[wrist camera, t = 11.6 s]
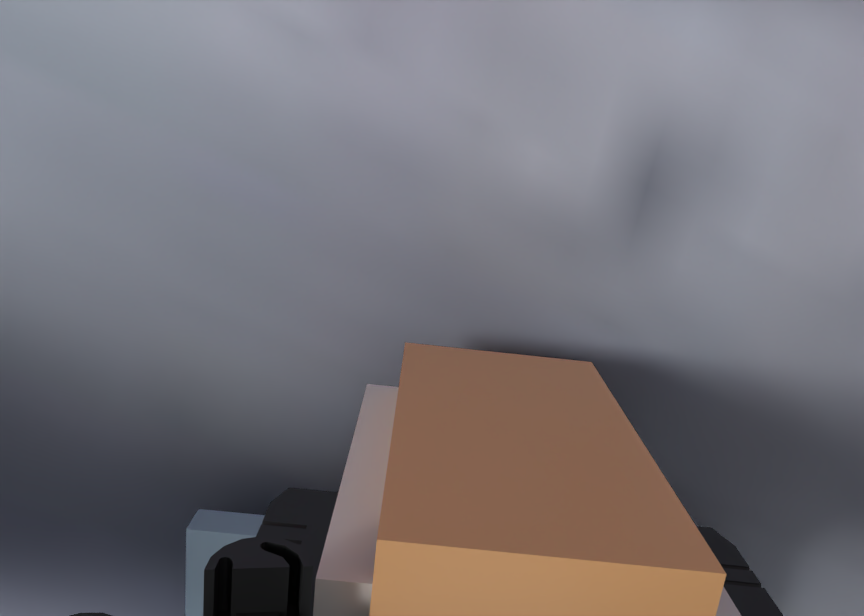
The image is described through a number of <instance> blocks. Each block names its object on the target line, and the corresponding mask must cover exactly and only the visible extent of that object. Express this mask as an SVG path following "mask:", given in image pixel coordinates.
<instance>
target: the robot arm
mask: <svg viewBox="0 0 864 616" xmlns="http://www.w3.org/2000/svg"><path fill="white" fill-rule="evenodd" d="M398 389H399V387H394V386H384V385H375V384H367V386H366V390H365V394H364V398H363V401H362V405H361V409H360V413H359V416H358V420H357V424H356V428H355V432H354V435H353V439H352V443H351V447H350V451H349V454H348V458H347V462H346V466H345V469H344V473H343V477H342V481H341V485H340V488H339V492H338V493H337V492H327V491H317V490H307V489H297V488H288V489H287V490H286V491H284V492H283V493H282V494H281V495H279V496H278V497H277V498H276V499H274V500H273V501H272V502H271V503H270V505H269V507H268V510H267V512H266V514H265V517H264V519H263V522H262V525H261V526H260V528H259V530H258V533H257V535H256V537H252V538H245V539H240V540H238V541H235V542H233V543H230V544H228V545H225V546H223V547H222V548H221V549H220V550H218V551H217V552H216V553H215V554H213V555H212V556H211V557H210V559H209V561H208V563H207V565H206V567H205V569H204V599H203V616H369V613H370V603H371V593H372V583H373V573H374V563H375V553H376V543H377V535H378V528H379V521H380V514H381V507H382V500H383V493H384V486H385V479H386V472H387V465H388V458H389V451H390V444H391V437H392V430H393V423H394V416H395V409H396V402H397V396H398ZM697 528H698V530H699V531H700V533H701V535H702V536H703V538H704V539H705V541H706V542H707V544H708V546H709V547H710V549H711V550H712V552H713V553H714V555H715V557H716V558H717V560H718V561H719V563H720V564H721V566H722V568H723V569H724V571H725V572H726V578H725V582H724V586H723V590H722V593H721V597H720V601H719V605H718V609H717V613H716V616H783V614H782V613H781V612H780V610H779V609H778V607H777V606H776V604H775V603H774V602H773V600H772V599H771V597H770V596H769V594H768V593H767V592H766V590H765V589H764V588H761V583H760V581H759V580H758V579H757V577H756V576H755V574H754V573H753V571H750V570H749V566H748V564H747V563H746V561H745V560H744V558H743V557H742V556H741V554H740V553H739V551H738V550H737V548H736V547H735V546H734V545H733V544H731V543H730V542H729V541H728V540H726V539H725V538H724V537H722V536H721V535H720V534H719V533H717V532H716V531H715V530H714V529H712V528H706V527H697ZM71 616H112V615H108V614H105V613H78V614H74V615H71Z"/></svg>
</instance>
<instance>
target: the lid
mask: <svg viewBox="0 0 864 616" xmlns="http://www.w3.org/2000/svg"><path fill="white" fill-rule="evenodd" d="M264 517H265V515H256V514H246V513H236V512H226V511H216V510H206V509H198V511H197V512H196V514H195V516H194V517H193V519H192V521H191V522H190V524H189V525H188V527H187V529H186V587H185V616H203V599H204V569H205V567H206V565H207V563H208V561H209V559H210V557H211V556H212V555H213V554H215V553H216V552H217V551H218V550H220V549H221V548H222V547H223V546H225V545H228V544H230V543H233V542H235V541H238V540H240V539H245V538H252V537H256V535H257V533H258V530H259V528H260V526H261V525H262V522H263V519H264ZM725 578H726V572H725V571H724V569H723V568H722V566H721V564H720V563H719V561H718V560H717V558H716V557H715V555H714V553H713V552H712V550H711V549H710V547H709V546H708V544H707V542H706V541H705V539H704V538H703V536H702V535H701V533H700V531H699V530H698V528H697V527H696V525H695V524H694V522H693V520H692V519H691V517H690V516H689V514H688V513H687V511H686V509H685V508H684V506H683V505H682V503H681V502H680V500H679V498H678V497H677V495H676V494H675V492H674V491H673V489H672V487H671V486H670V484H669V483H668V481H667V480H666V478H665V476H664V475H663V473H662V472H661V470H660V469H659V467H658V465H657V464H656V462H655V461H654V459H653V458H652V456H651V454H650V453H649V451H648V450H647V448H646V447H645V445H644V443H643V442H642V440H641V439H640V437H639V436H638V434H637V432H636V431H635V429H634V428H633V426H632V425H631V423H630V421H629V420H628V418H627V417H626V415H625V414H624V412H623V410H622V409H621V407H620V406H619V404H618V403H617V401H616V399H615V398H614V396H613V395H612V393H611V392H610V390H609V388H608V387H607V385H606V384H605V382H604V381H603V379H602V377H601V376H600V374H599V373H598V371H597V370H596V368H595V366H594V365H593V363H592V362H586V361H577V360H567V359H558V358H548V357H539V356H529V355H520V354H510V353H501V352H491V351H482V350H472V349H463V348H453V347H443V346H434V345H424V344H415V343H405V347H404V354H403V361H402V368H401V375H400V382H399V389H398V396H397V402H396V409H395V416H394V423H393V430H392V437H391V444H390V451H389V458H388V465H387V472H386V479H385V486H384V493H383V500H382V507H381V514H380V521H379V528H378V535H377V543H376V553H375V563H374V573H373V583H372V593H371V603H370V613H369V616H716V613H717V609H718V605H719V601H720V597H721V593H722V590H723V586H724V582H725Z"/></svg>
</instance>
